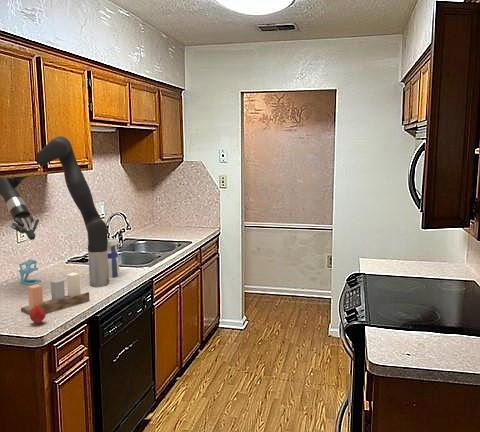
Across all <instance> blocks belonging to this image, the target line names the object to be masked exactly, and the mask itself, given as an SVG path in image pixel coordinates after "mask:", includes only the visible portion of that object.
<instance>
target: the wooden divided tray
mask: <svg viewBox="0 0 480 432" xmlns="http://www.w3.org/2000/svg"><path fill="white" fill-rule="evenodd" d="M90 301H91V300H90V291H89V292H85V293H82V294H80V295H76V296H73V297H70V296H68V294H65V299H62V300H58V301H55V302H52V299H48V300H43V305H40V306H39V307H42V308H43V309H44V310H45V314H50V313H53V311H54V312H57V311H61V310H63V308H64V309H66V308H67V307H68V308H71V307H74V305H75V306H78V305H82V304H85V303H88V302H90ZM84 302H85V303H84ZM70 306H71V307H70ZM33 308H34V307H33ZM33 308H32V309H33ZM60 309H61V310H60ZM20 311H21V312H22V313H24V314H26V315H28V316H30V312H31V310H30V309H29V305H26V306H22V307H20Z"/></svg>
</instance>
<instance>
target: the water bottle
mask: <svg viewBox="0 0 480 432" xmlns="http://www.w3.org/2000/svg"><path fill="white" fill-rule="evenodd" d="M118 244H120V241H119V239H118V238H108V245H107V253H108V269H109V279H112V278H115V279H116V278H119V277H120V276H121V273H120V260H119V256H118V252H119V250H118V246H117V245H118Z"/></svg>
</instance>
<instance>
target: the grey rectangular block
mask: <svg viewBox="0 0 480 432" xmlns="http://www.w3.org/2000/svg"><path fill="white" fill-rule="evenodd" d="M65 291H66V290H65V280H63V279H60V278H57V279H52V280H50V292H51V293H50V294H51V295H50V296H51V300H52V302H55V301H58V300H62V299H65V296H66V294H65V293H66V292H65Z"/></svg>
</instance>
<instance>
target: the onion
mask: <svg viewBox="0 0 480 432" xmlns="http://www.w3.org/2000/svg"><path fill="white" fill-rule="evenodd" d="M45 318H46V314H45V310H44V309H43V308H42V307H39V305H38V304H37V305H36V306H35V307H34V308H33V309H32V310H31V312H30V315H29V319H30V321H32V322H33V323H35V324H37V325H40V324H41V323H42V322H43V320H44V319H45Z"/></svg>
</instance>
